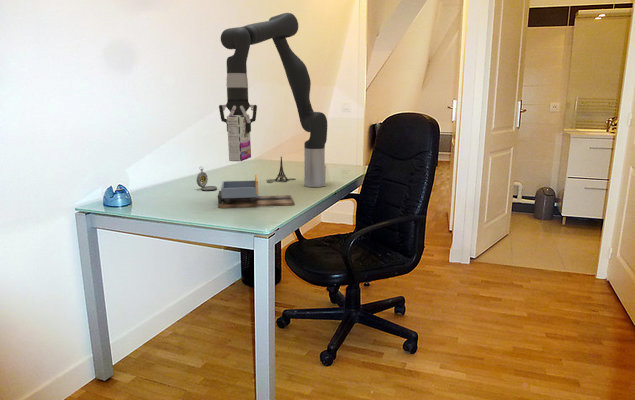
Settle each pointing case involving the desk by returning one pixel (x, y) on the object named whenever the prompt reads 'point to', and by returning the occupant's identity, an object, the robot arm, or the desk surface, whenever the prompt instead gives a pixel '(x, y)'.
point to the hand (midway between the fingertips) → (239, 133)
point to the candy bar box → (238, 138)
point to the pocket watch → (204, 181)
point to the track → (256, 201)
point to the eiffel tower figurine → (280, 176)
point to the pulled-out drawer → (239, 190)
